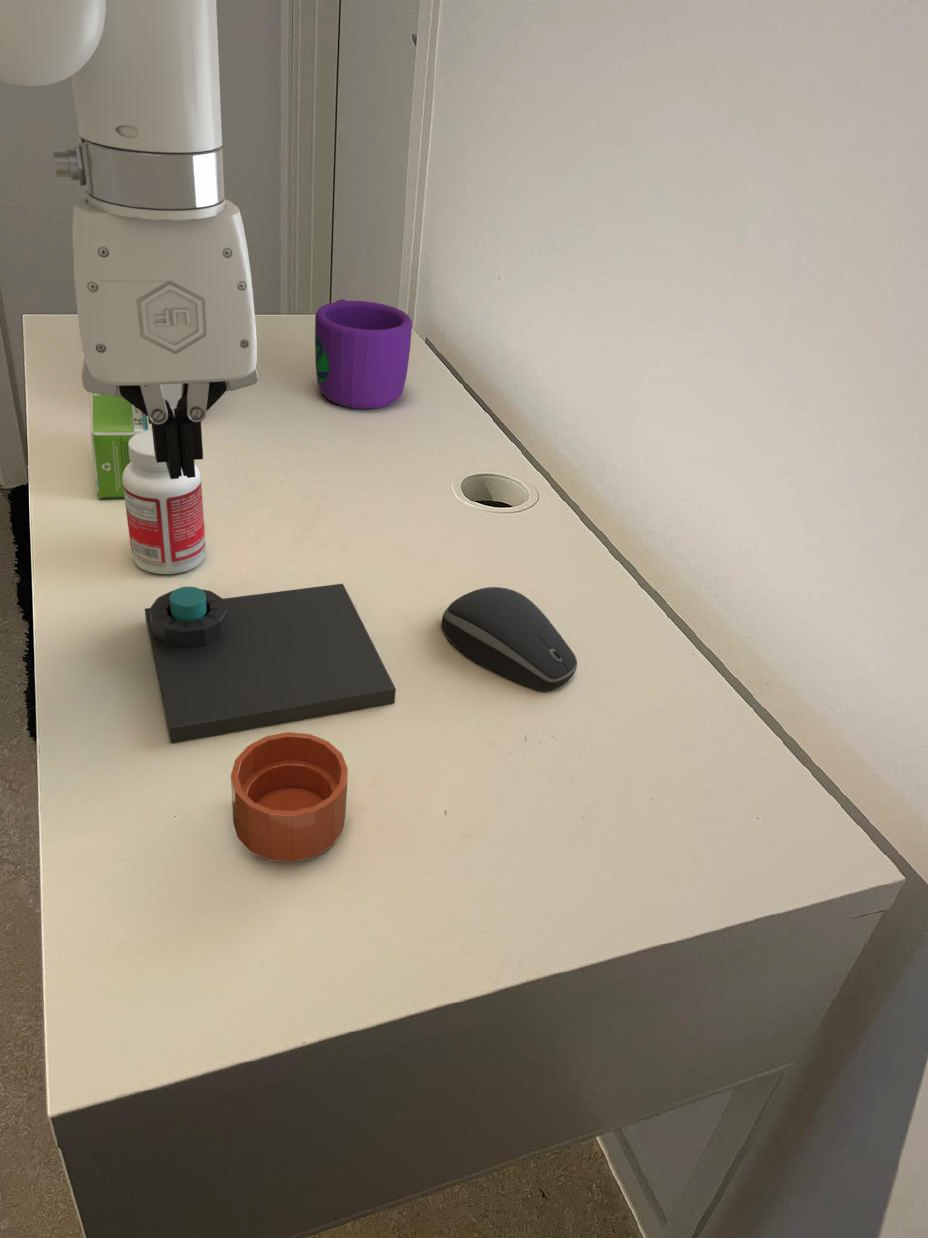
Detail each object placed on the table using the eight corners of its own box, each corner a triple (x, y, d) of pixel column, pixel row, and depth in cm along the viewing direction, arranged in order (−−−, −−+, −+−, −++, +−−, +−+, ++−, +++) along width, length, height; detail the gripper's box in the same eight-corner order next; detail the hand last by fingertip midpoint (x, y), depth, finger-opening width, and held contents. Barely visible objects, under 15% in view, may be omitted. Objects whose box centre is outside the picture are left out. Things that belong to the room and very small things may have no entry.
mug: (419, 411, 110) (427, 330, 104) (329, 417, 106) (332, 333, 100) (372, 358, 122) (376, 283, 116) (290, 362, 118) (290, 283, 112)
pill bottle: (206, 538, 82) (199, 425, 75) (206, 576, 77) (199, 459, 71) (134, 539, 80) (120, 424, 74) (129, 578, 76) (114, 458, 69)
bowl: (246, 879, 53) (244, 827, 50) (225, 795, 58) (222, 744, 55) (357, 852, 56) (361, 801, 53) (328, 774, 60) (330, 723, 58)
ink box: (97, 451, 93) (78, 315, 84) (151, 449, 94) (138, 315, 86) (97, 501, 85) (77, 356, 77) (157, 498, 86) (143, 356, 78)
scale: (170, 743, 61) (167, 710, 59) (145, 622, 71) (142, 591, 69) (394, 703, 67) (397, 672, 65) (342, 596, 77) (343, 567, 75)
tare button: (173, 625, 67) (172, 608, 66) (168, 605, 69) (167, 588, 68) (209, 620, 68) (208, 603, 67) (203, 600, 70) (202, 584, 69)
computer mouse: (540, 705, 69) (549, 664, 66) (422, 630, 74) (427, 591, 72) (591, 666, 73) (601, 627, 71) (476, 599, 79) (482, 560, 77)
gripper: (9, 188, 45) (64, 507, 56) (302, 196, 51) (301, 485, 62) (7, 156, 51) (58, 452, 61) (273, 166, 56) (276, 437, 67)
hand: (179, 468), depth 61 cm, fingers closed
